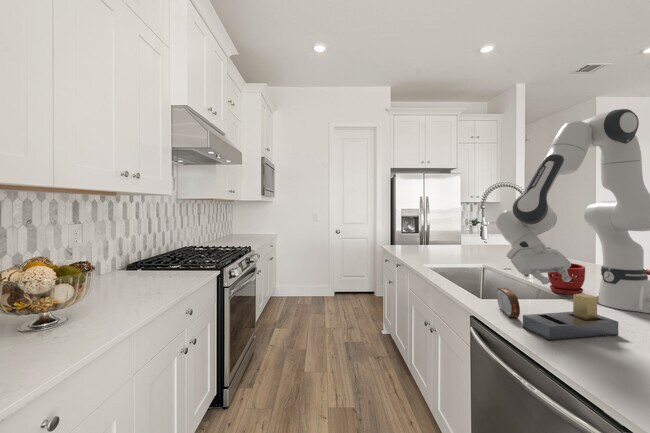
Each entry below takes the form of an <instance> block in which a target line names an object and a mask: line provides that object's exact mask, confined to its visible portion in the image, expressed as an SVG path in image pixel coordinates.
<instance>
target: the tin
mask: <svg viewBox="0 0 650 433" xmlns="http://www.w3.org/2000/svg"><path fill="white" fill-rule="evenodd" d="M496 296H497V297H496V298H497V304H498V307H499V309H500V311H502V312H503V313H504V314H505V315H506V316H507V317H508V318H519V317H520V314H521V309H520V308H521V307H520V306H521V305H520V302H519V299H518V296H517V295H516V293H515V292H514V291H512V290H511V289H509V288H508V287H507V286H505V287H499V288H497V290H496Z"/></svg>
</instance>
